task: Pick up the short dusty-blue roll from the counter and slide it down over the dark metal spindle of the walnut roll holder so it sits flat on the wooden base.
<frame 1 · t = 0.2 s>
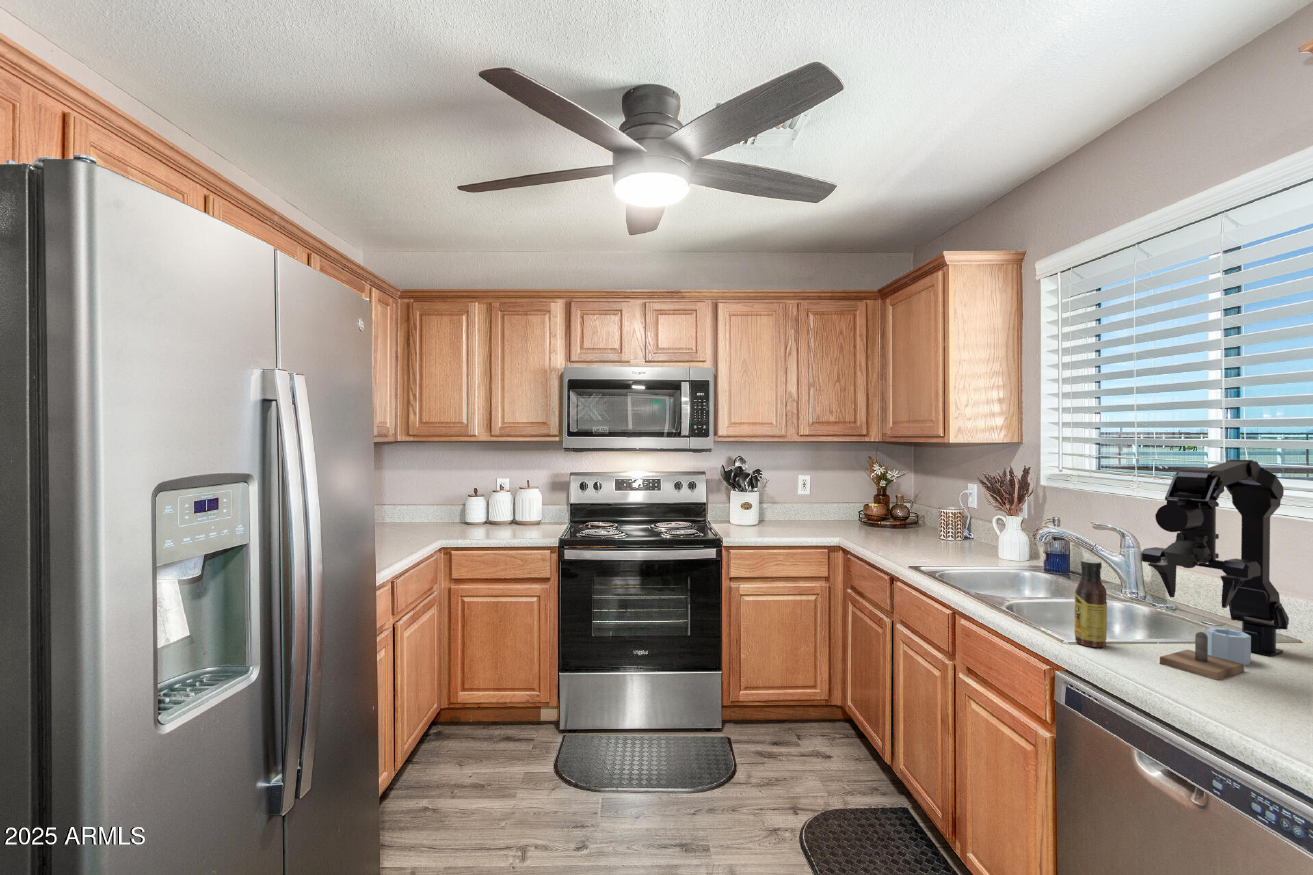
hand: (1197, 602, 134), 14 cm above the countertop, tool pointing down, fingers open, 9 cm apart
roll holder: (1201, 667, 134), on the countertop
blue roll: (1227, 659, 139), on the countertop
sauce bottle: (1090, 645, 149), on the countertop
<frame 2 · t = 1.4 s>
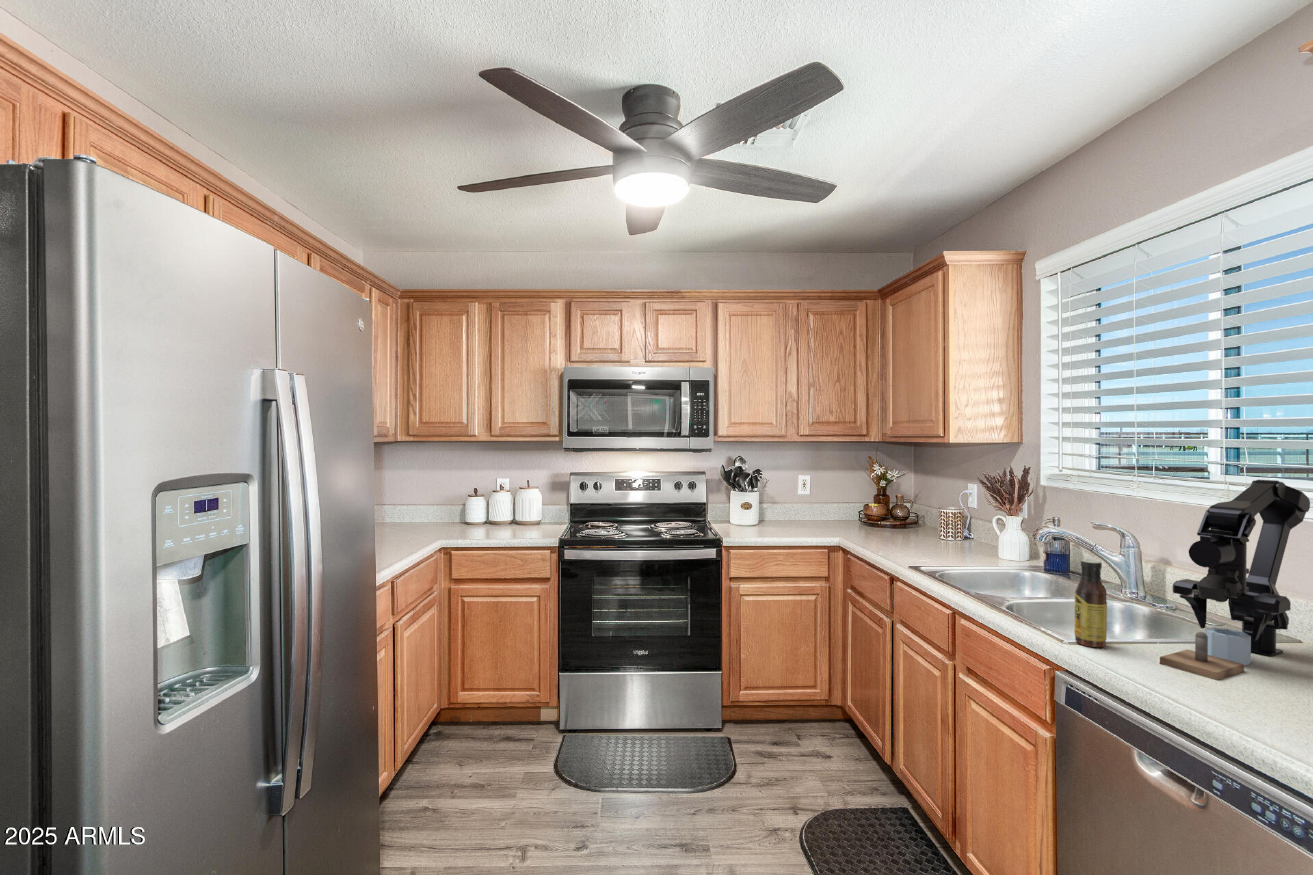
hand: (1228, 633, 139), 6 cm above the countertop, tool pointing down, fingers open, 9 cm apart
nothing on the countertop moved.
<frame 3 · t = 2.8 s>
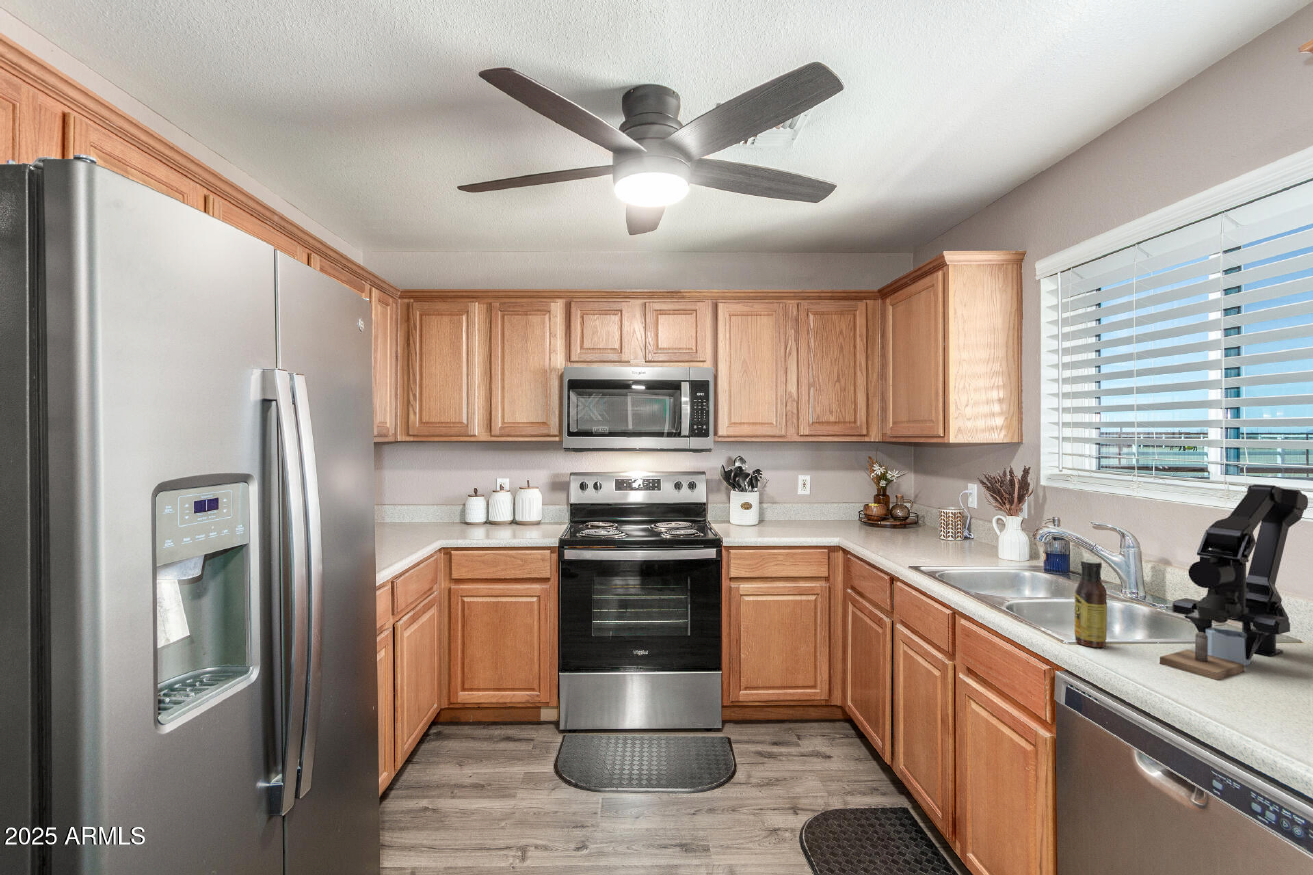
hand: (1227, 654, 139), 1 cm above the countertop, tool pointing down, fingers closed on blue roll, 7 cm apart
blue roll: (1227, 659, 139), on the countertop, touching gripper
everything else where it was.
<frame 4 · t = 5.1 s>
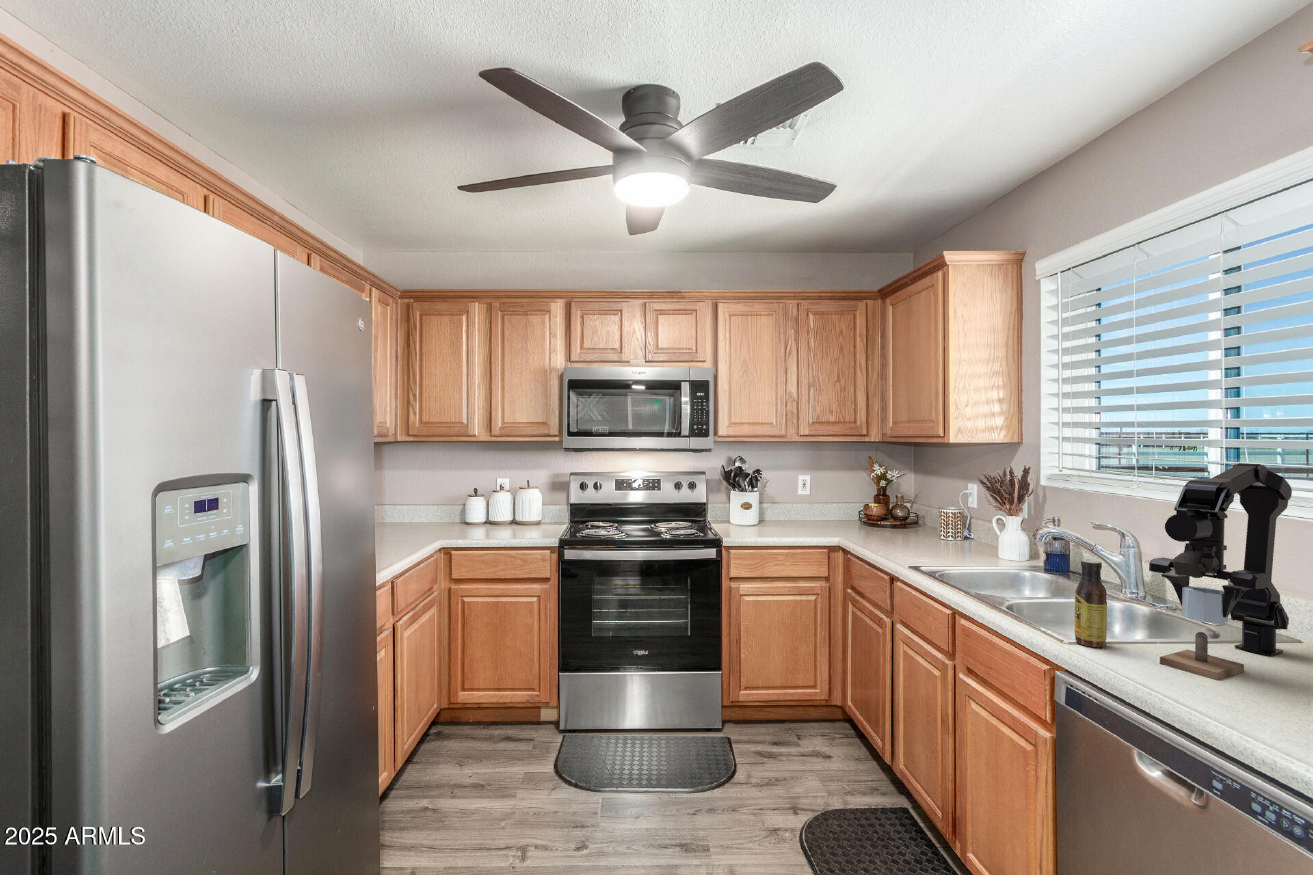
hand: (1204, 612, 135), 12 cm above the countertop, tool pointing down, fingers closed on blue roll, 7 cm apart
blue roll: (1204, 618, 135), point 10 cm above the countertop, touching gripper
everything else where it was.
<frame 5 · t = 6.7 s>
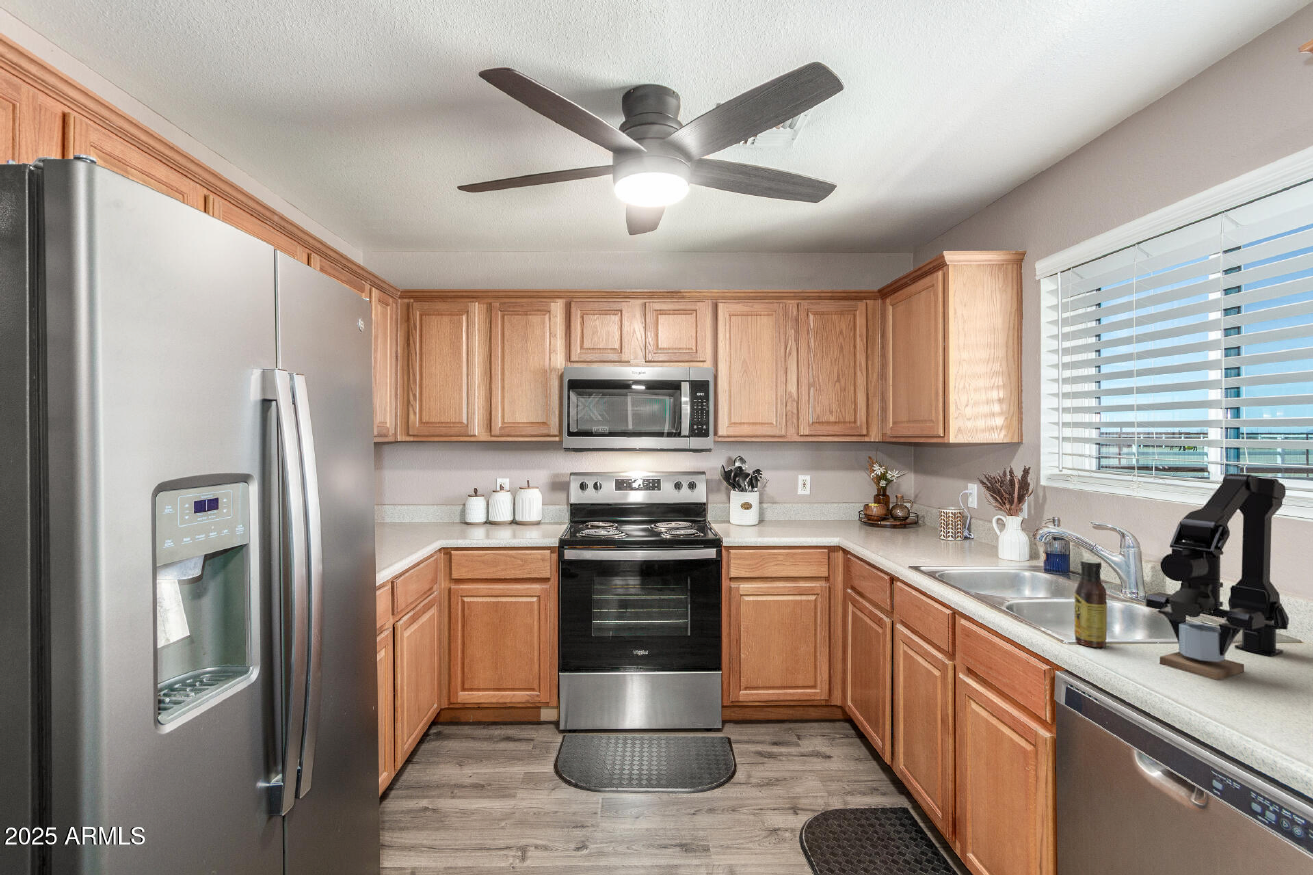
hand: (1201, 649, 134), 4 cm above the countertop, tool pointing down, fingers closed on blue roll, 7 cm apart
blue roll: (1201, 655, 134), point 3 cm above the countertop, touching gripper
everything else where it was.
when the fingers open (4 cm above the countertop, at t = 7.8 s): blue roll drops 1 cm, resting on roll holder.
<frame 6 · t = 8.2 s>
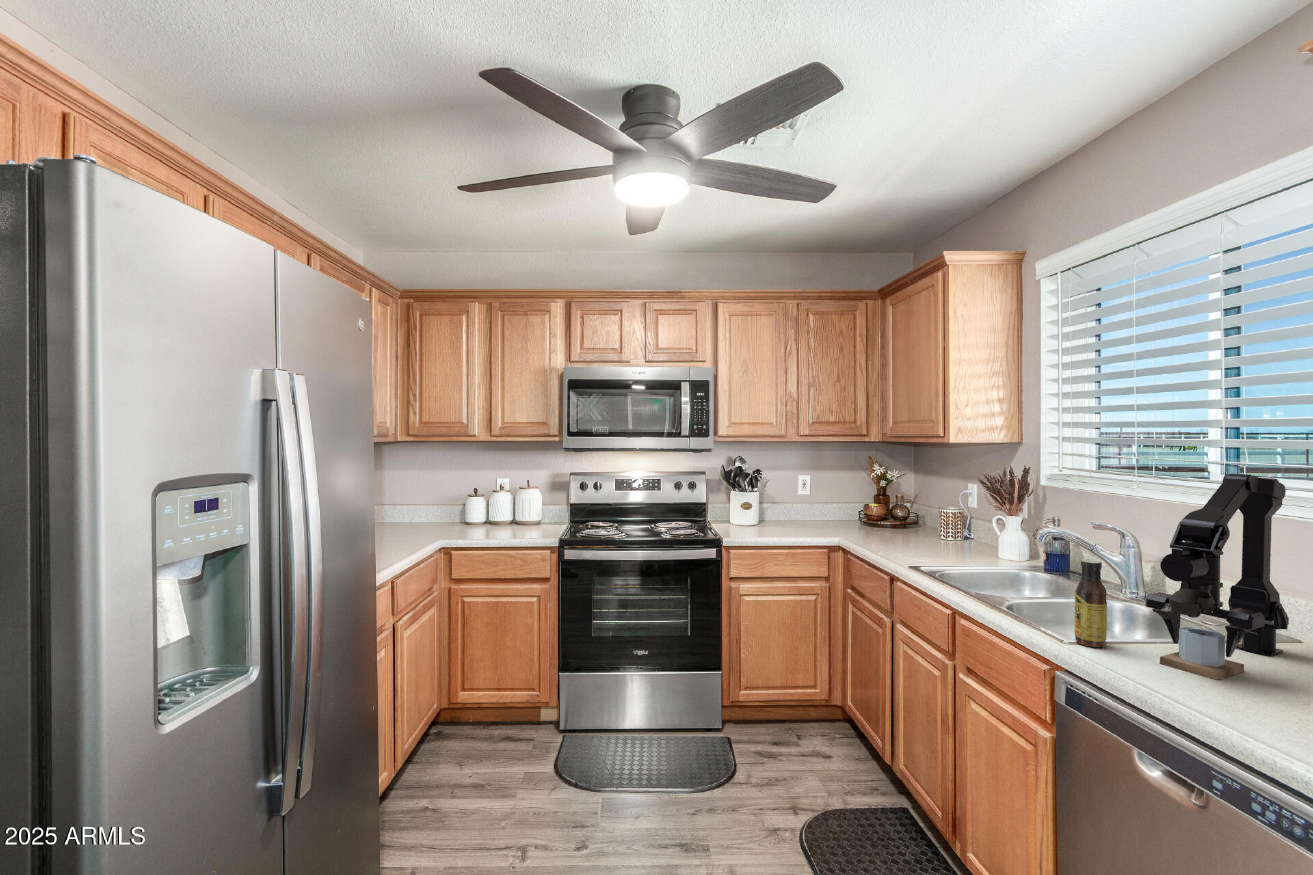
hand: (1201, 649, 134), 4 cm above the countertop, tool pointing down, fingers open, 9 cm apart
blue roll: (1201, 660, 134), point 1 cm above the countertop, touching roll holder
everything else where it was.
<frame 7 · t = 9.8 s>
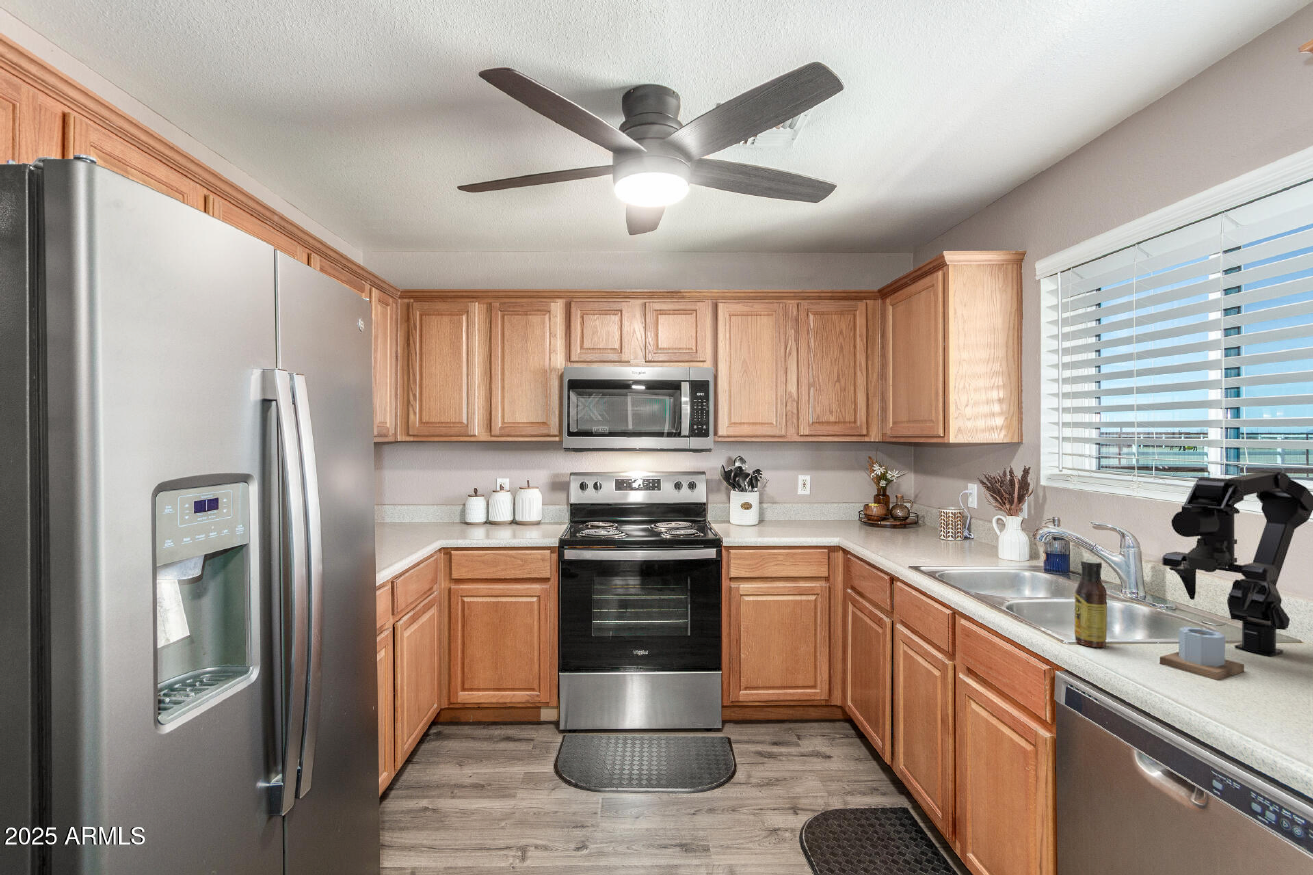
hand: (1217, 604, 141), 12 cm above the countertop, tool pointing down, fingers open, 9 cm apart
nothing on the countertop moved.
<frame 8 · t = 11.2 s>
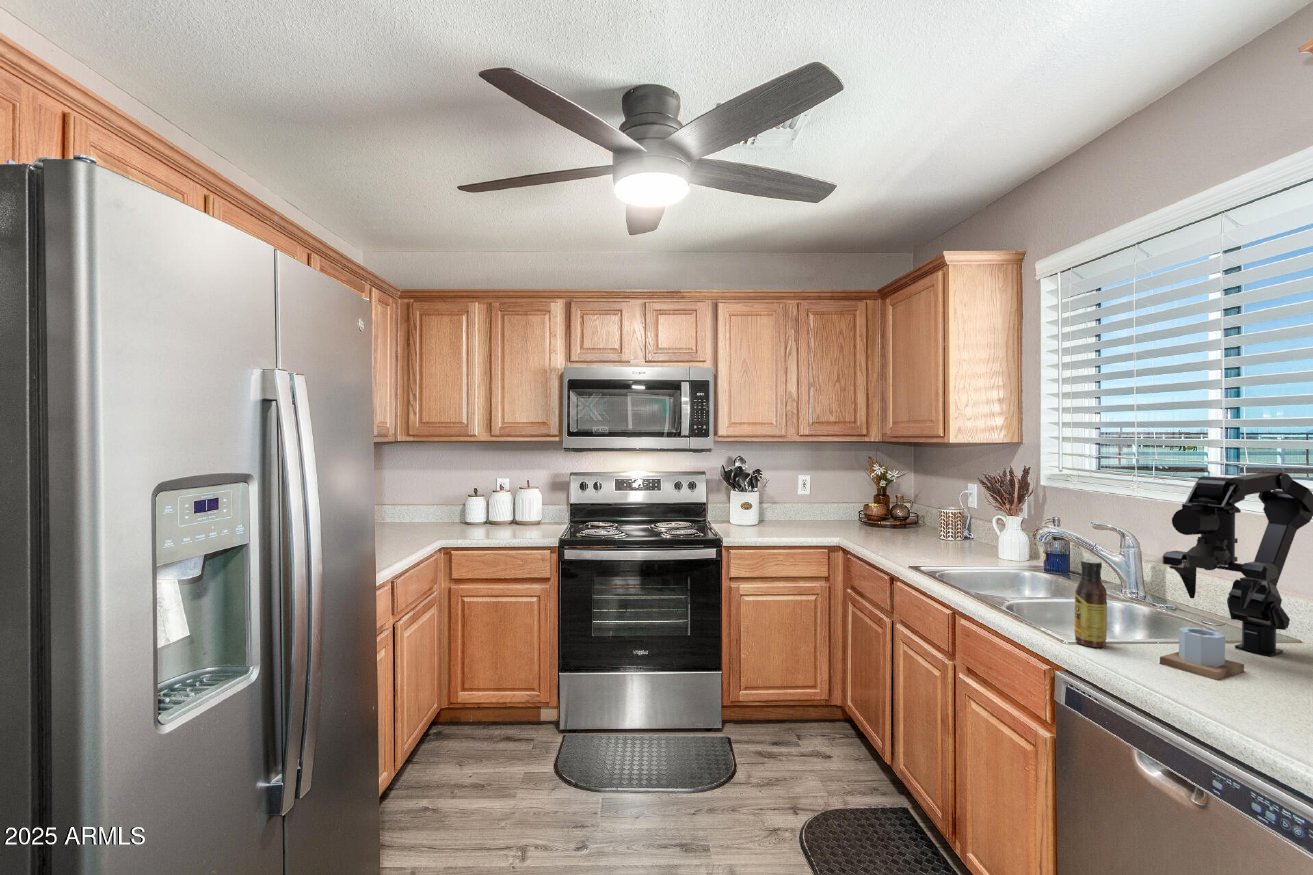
hand: (1216, 603, 141), 12 cm above the countertop, tool pointing down, fingers open, 9 cm apart
nothing on the countertop moved.
at the end: blue roll 0.0 cm off-centre on the roll holder, point 1.5 cm above the roll holder's base; blue roll tilted 0°; the gripper is holding nothing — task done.
